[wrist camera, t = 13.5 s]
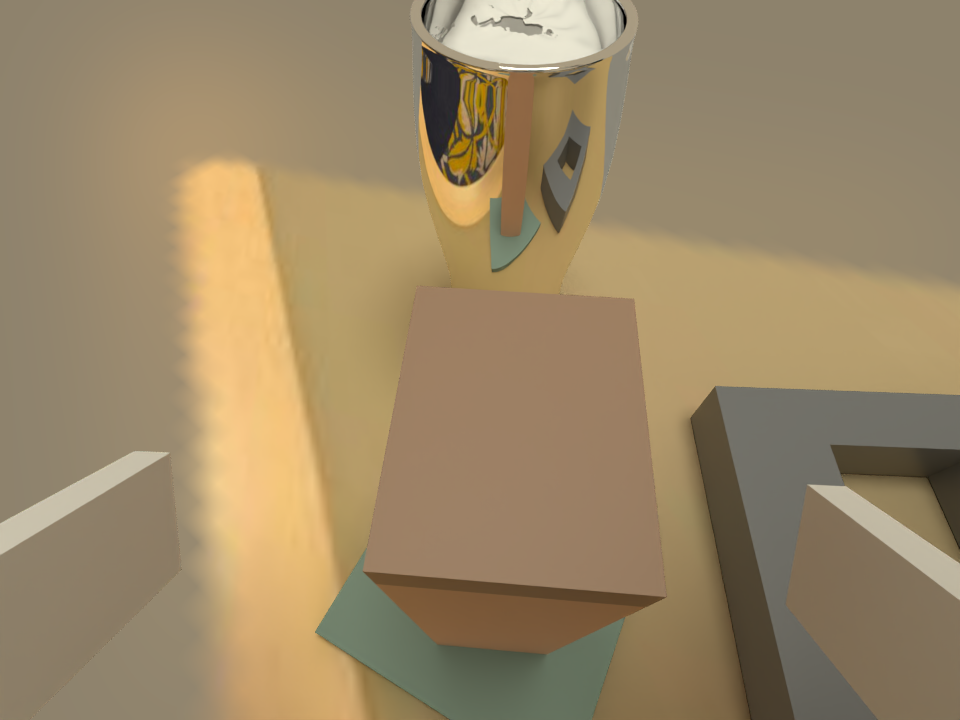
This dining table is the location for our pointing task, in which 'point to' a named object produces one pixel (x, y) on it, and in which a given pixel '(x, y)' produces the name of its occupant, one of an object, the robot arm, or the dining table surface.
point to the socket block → (778, 509)
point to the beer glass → (517, 130)
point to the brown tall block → (517, 471)
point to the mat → (467, 662)
